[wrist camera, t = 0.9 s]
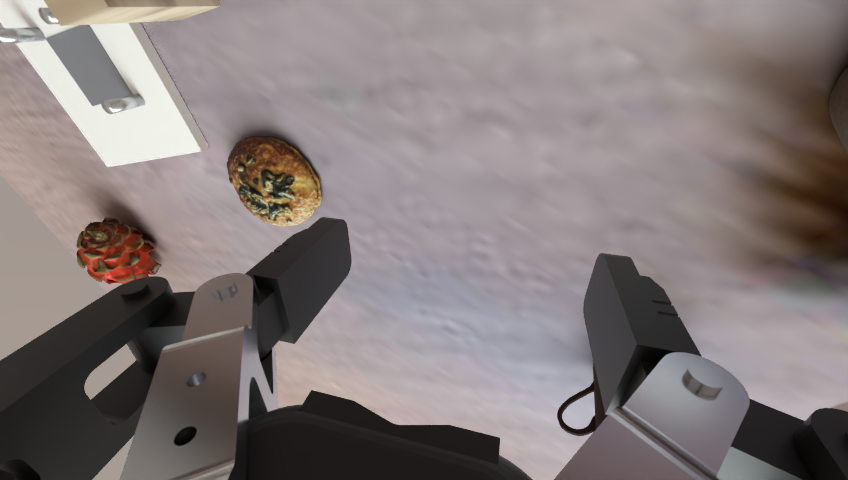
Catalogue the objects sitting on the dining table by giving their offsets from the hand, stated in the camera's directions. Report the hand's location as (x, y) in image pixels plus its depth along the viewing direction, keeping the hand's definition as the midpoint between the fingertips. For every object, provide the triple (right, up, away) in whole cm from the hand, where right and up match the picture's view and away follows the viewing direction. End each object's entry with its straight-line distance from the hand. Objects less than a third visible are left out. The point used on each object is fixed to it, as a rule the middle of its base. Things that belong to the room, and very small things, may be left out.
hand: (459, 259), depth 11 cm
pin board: (-35, +19, +25) cm, 47 cm away
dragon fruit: (-44, 0, +41) cm, 60 cm away
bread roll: (-18, +8, +28) cm, 34 cm away
